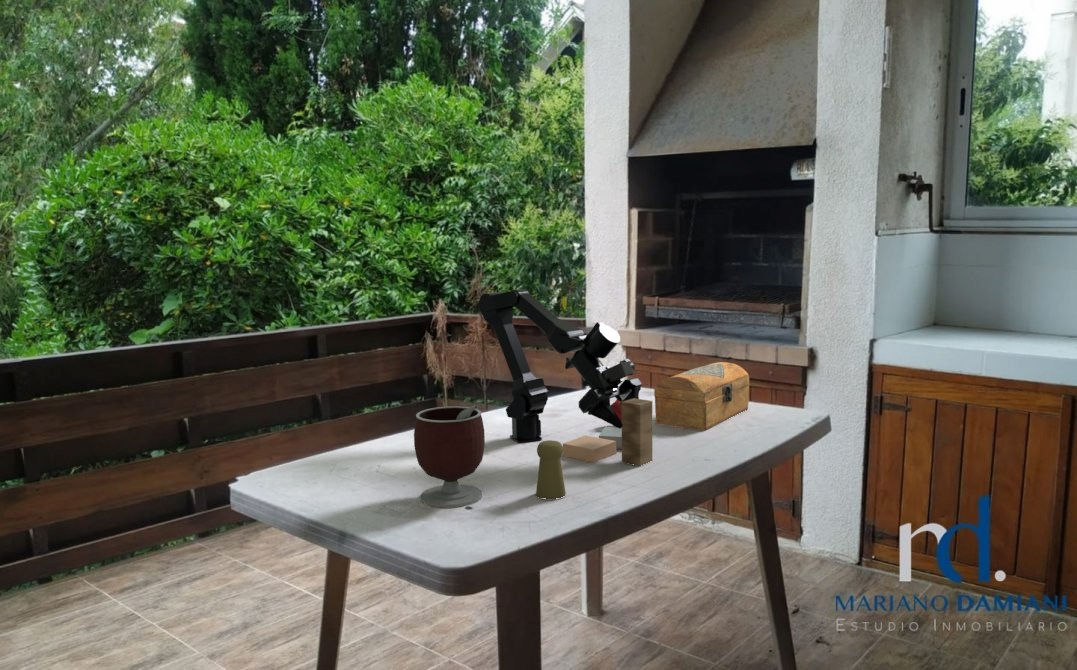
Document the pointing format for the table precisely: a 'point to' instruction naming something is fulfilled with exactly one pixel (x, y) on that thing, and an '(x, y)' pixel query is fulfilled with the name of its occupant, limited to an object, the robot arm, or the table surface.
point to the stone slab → (612, 435)
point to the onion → (617, 409)
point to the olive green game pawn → (550, 470)
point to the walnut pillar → (637, 431)
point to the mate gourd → (449, 452)
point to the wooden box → (702, 396)
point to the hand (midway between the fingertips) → (632, 423)
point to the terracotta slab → (589, 448)
